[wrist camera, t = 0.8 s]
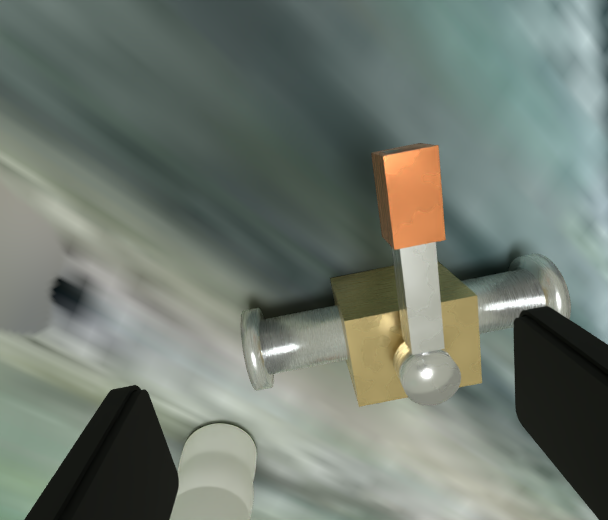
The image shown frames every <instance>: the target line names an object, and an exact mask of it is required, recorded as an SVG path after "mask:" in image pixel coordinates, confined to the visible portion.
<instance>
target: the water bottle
mask: <svg viewBox="0 0 608 520" xmlns="http://www.w3.org/2000/svg"><path fill="white" fill-rule="evenodd" d="M256 459H257V452H256V447H255V444H254V442H253V440H252V438H251V437H250V436H249V435H248V434H247V433H246V432H245V431H243V430H242V429H240V428H238V427H236V426H233V425H230V424H223V423H217V424H210V425H207V426H204V427H202V428H200V429H198V430H196V431H195V432H194V433H193V434H192V435H191V436H190V437H189V438H188V439H187V441H186V443H185V445H184V448H183V451H182V454H181V458H180V462H179V468H178V478H179V488H178V492H177V496H176V499H175V503H174V506H173V510H172V513H171V516H170V520H250V516H251V512H252V507H253V495H254V490H253V480H254V476H255V469H256Z"/></svg>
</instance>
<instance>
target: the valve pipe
mask: <svg viewBox="0 0 608 520" xmlns="http://www.w3.org/2000/svg"><path fill="white" fill-rule="evenodd" d="M437 263H438V275H439V287H440V299H441V311H442V323H443V335H444V347H445V349H446V351H447V352H448V354H449V355H450V356H451V358H452V359H453V360H454V362H455V363H456V364H457V366H458V367H459V369H460V372H461V382H460V385H459V387H463V386H468V385H474V384H479V383H482V376H481V356H480V337H479V334H482V333H487V332H492V331H497V330H502V329H508V328H513V327H514V320H515V319H516V318H518V317H519V315H520V313H521V312H522V311H523V310H528V309H533V308H538V307H543V306H548V307H551V308H552V309H554V310H555V311H557V312H558V313H560V314H562V315H563V316H565V317H566V318H568V319H570V313H571V303H570V296H569V292H568V288H567V286H566V283H565V281H564V278H563V276H562V275H561V273H560V271H559V270H558V268H557V267H556V266H555V264H554V263H553V262H552V261H551V260H550V259H548V258H547V257H545V256H543V255H541V254H531V255H526V256H520V257H517V258H515V259H514V260H513V261H512V262H511V264H510V266H509V270H508V272H503V273H498V274H493V275H488V276H483V277H478V278H473V279H468V280H463V281H460V280H459V279H458V278H457V277H455V276H454V275H453V274H452V273H451V272H450V271H449V270H447V269H446V268H445V267H444V266H443V265H442V264H440V263H439V262H438V261H437ZM330 280H331V285H332V291H333V296H334V302H335V306H330V307H325V308H319V309H314V310H309V311H304V312H299V313H294V314H289V315H284V316H279V317H273V318H268V319H264V317H263V314H262V312H261V310H260V308H255V309H250V310H245V311H243V312H242V315H241V337H242V346H243V353H244V358H245V363H246V368H247V372H248V375H249V379H250V381H251V384H252V386H253V388H254V389H255V390H256V391H258V390H263V389H268V388H272V387H273V383H274V374H276V373H281V372H286V371H292V370H297V369H302V368H307V367H312V366H317V365H322V364H328V363H333V362H338V361H343V360H346V362H347V365H348V369H349V372H350V376H351V380H352V383H353V387H354V390H355V394H356V397H357V401H358V405H359V407H360V406H365V405H370V404H375V403H381V402H386V401H391V400H396V399H401V398H406V397H408V396H407V395H406V393H405V391H404V389H403V387H402V384H401V382H400V380H399V378H398V376H397V374H396V372H395V369H394V366H393V358H394V355H395V352H396V351H397V349H398V348H399V347H400V345H401V344H403V343H404V340H403V337H402V329H401V321H400V312H399V304H398V296H397V288H396V280H395V271H394V266H390V267H384V268H379V269H374V270H369V271H364V272H359V273H354V274H349V275H344V276H339V277H333V278H330Z"/></svg>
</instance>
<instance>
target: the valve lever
mask: <svg viewBox="0 0 608 520" xmlns="http://www.w3.org/2000/svg"><path fill="white" fill-rule="evenodd" d="M371 155H372V162H373V170H374V178H375V186H376V193H377V201H378V209H379V216H380V224H381V232H382V237H383V238H384V239H385V240H386V241H387V242H388V243H389V244H390V246H391V247H392V255H393V263H394V271H395V280H396V288H397V296H398V304H399V312H400V321H401V329H402V337H403V340H404V343H403V344H401V345H400V347H399V348H398V349H397V351H396V352H395V355H394V358H393V366H394V369H395V372H396V374H397V376H398V378H399V380H400V382H401V384H402V387H403V389H404V391H405V393H406V395H407V396H408V397H409V398H410V399H411V400H412V401H413V402H415V403H417V404H420V405H427V406H428V405H436V404H440V403H442V402H444V401H446V400H448V399H449V398H450V397H452V396H453V395H454V394H455V392H456V391H457V389H458V388H459V385H460V382H461V372H460V369H459V367H458V366H457V364H456V363H455V362H454V360H453V359H452V358H451V356H450V355H449V354H448V352H447V351H446V349H445V347H444V335H443V323H442V311H441V299H440V287H439V275H438V263H437V252H436V242H437V241H442V240H445V227H444V214H443V201H442V188H441V174H440V161H439V148H438V145H431V144H423V143H418V144H413V145H408V146H403V147H398V148H393V149H388V150H383V151H378V152H373V153H371Z"/></svg>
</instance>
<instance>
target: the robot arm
mask: <svg viewBox="0 0 608 520" xmlns="http://www.w3.org/2000/svg"><path fill="white" fill-rule="evenodd" d="M514 365H515V405H516V413H517V416H518V419H519V421H520V423H521V424H522V426H523V427H524V428H525V429H526V431H527V432H528V433H529V434H530V436H531V437H532V438H533V439H534V440H535V442H536V443H537V444H538V445H539V447H540V448H541V449H542V450H543V451H544V453H545V454H546V455H547V456H548V458H549V459H550V460H551V461H552V462H553V464H554V465H555V466H556V467H557V469H558V470H559V471H560V472H561V474H562V475H563V476H564V477H565V478H566V480H567V481H568V482H569V483H570V485H571V486H572V487H573V488H574V489H575V491H576V492H577V493H578V494H579V496H580V497H581V498H582V499H583V500H584V502H585V503H586V504H587V505H588V507H589V508H590V509H591V510H592V511H593V513H594V514H595V515H596V516H597V518H598V519H599V520H608V345H607V344H606V343H604V342H603V341H601V340H600V339H598V338H597V337H595V336H594V335H592V334H591V333H589V332H587V331H586V330H584V329H583V328H581V327H580V326H578V325H577V324H575V323H574V322H572V321H571V320H569V319H568V318H566V317H565V316H563V315H562V314H560V313H558V312H557V311H555V310H554V309H552V308H551V307H548V306H543V307H538V308H533V309H528V310H523V311H522V312H521V313H520V315H519V317H518V318H516V319H515V320H514ZM178 488H179V478H178V473H177V470H176V467H175V465H174V462H173V459H172V456H171V454H170V451H169V448H168V445H167V443H166V440H165V437H164V435H163V432H162V429H161V426H160V424H159V421H158V418H157V415H156V413H155V410H154V407H153V405H152V402H151V399H150V396H149V394H148V392H147V391H146V390H141V389H140V388H139V387H138V386H136V385H133V386H128V387H123V388H118V389H113V390H111V391H110V392H109V393H108V395H107V396H106V398H105V399H104V401H103V402H102V404H101V405H100V407H99V408H98V410H97V411H96V413H95V414H94V416H93V417H92V419H91V420H90V422H89V423H88V425H87V426H86V428H85V429H84V431H83V432H82V434H81V435H80V437H79V438H78V440H77V441H76V443H75V444H74V446H73V447H72V449H71V450H70V452H69V453H68V455H67V456H66V458H65V459H64V461H63V462H62V464H61V465H60V467H59V468H58V470H57V471H56V473H55V474H54V476H53V477H52V479H51V480H50V482H49V483H48V485H47V486H46V488H45V489H44V491H43V492H42V494H41V495H40V497H39V498H38V500H37V502H36V503H35V505H34V506H33V508H32V509H31V511H30V512H29V514H28V515H27V517H26V518H25V520H170V516H171V513H172V510H173V506H174V503H175V499H176V496H177V492H178Z"/></svg>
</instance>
